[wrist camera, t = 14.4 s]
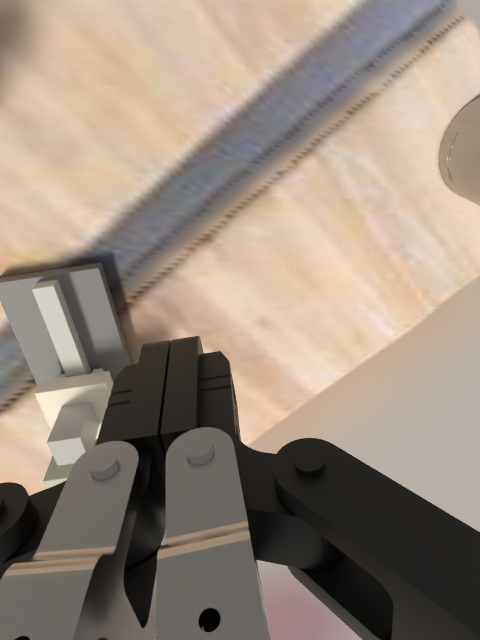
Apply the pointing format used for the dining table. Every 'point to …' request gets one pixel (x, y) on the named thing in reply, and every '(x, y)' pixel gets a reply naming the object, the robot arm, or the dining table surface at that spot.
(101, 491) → the robot arm
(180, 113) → the dining table surface
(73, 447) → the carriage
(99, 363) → the rail board
